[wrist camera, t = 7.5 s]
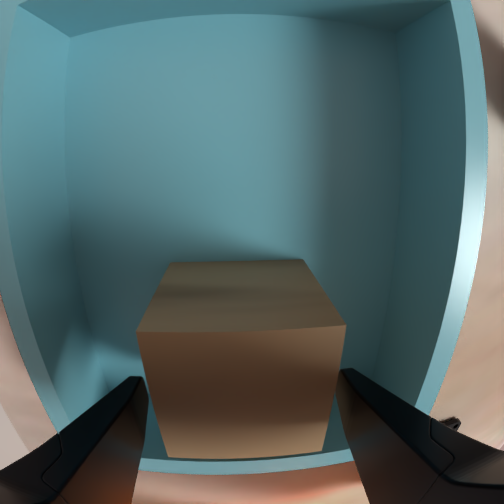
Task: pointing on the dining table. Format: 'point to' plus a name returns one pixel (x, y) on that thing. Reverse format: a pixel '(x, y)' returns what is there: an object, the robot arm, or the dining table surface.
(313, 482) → the dining table surface
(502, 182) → the dining table surface
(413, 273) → the tote
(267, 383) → the walnut cube
